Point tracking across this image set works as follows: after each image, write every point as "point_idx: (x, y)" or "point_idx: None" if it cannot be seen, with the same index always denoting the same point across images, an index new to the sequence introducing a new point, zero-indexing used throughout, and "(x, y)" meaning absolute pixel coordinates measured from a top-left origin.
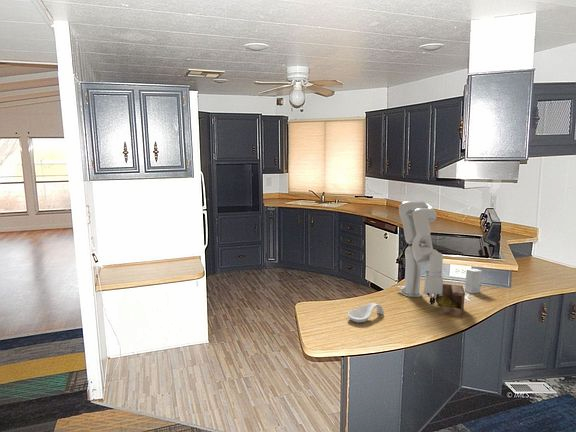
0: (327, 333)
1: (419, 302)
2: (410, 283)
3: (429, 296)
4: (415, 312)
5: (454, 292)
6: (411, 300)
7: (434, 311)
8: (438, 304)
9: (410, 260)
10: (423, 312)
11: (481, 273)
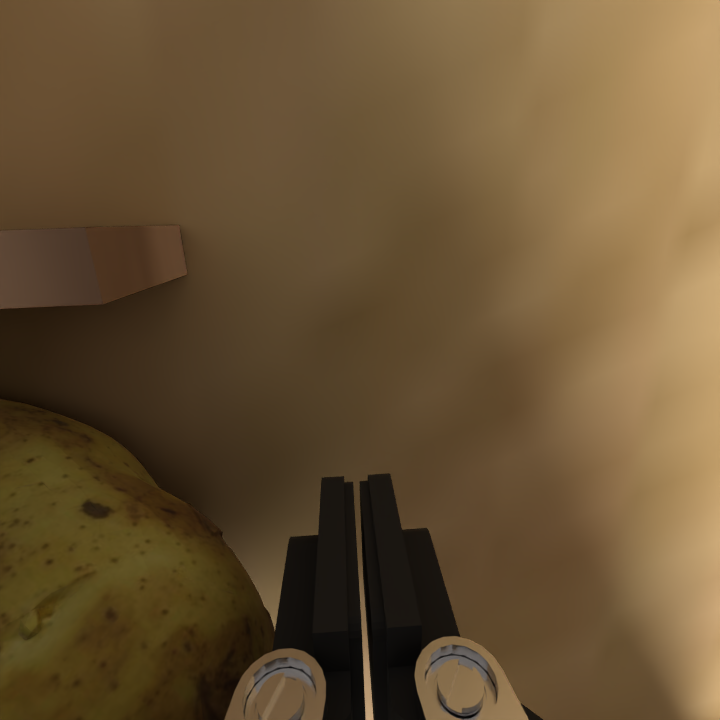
0: None
1: (548, 629)
2: None
3: (509, 711)
4: (713, 83)
5: None
6: (661, 653)
7: (296, 328)
8: (207, 529)
9: None
10: (527, 164)
11: None
